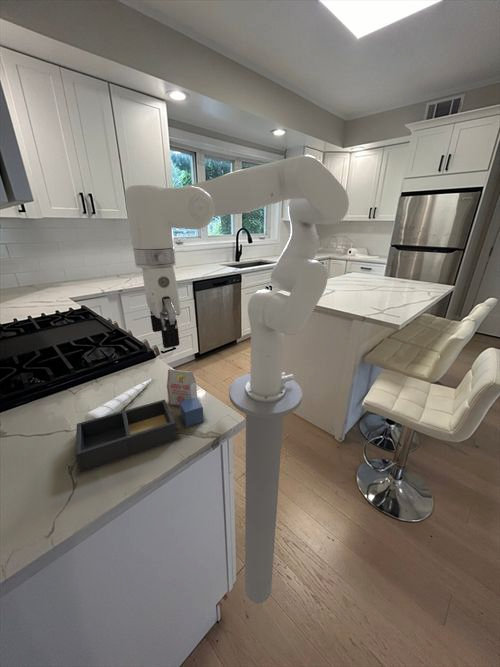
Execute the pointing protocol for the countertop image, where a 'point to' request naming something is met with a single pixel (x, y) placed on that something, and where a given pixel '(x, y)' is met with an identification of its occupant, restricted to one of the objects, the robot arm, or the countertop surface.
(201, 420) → the block
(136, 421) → the sorter
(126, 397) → the unicorn horn
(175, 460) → the countertop surface
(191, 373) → the white printed box
